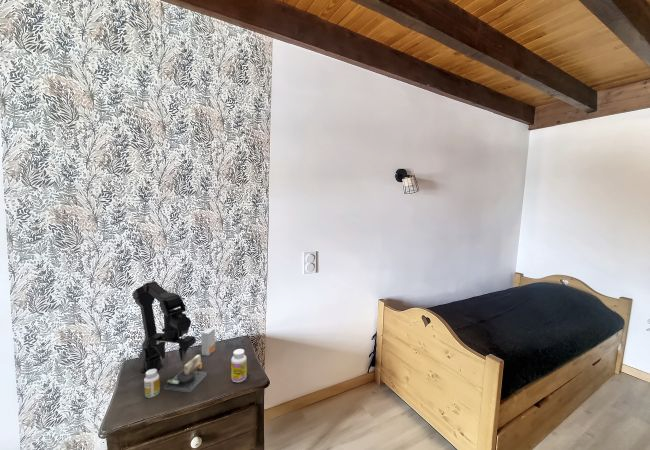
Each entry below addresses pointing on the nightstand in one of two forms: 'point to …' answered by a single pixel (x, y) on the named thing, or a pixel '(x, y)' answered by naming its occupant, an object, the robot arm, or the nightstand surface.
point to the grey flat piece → (188, 386)
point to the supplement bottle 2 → (238, 366)
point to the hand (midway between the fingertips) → (173, 359)
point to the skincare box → (208, 341)
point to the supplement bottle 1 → (151, 383)
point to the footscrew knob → (189, 370)
